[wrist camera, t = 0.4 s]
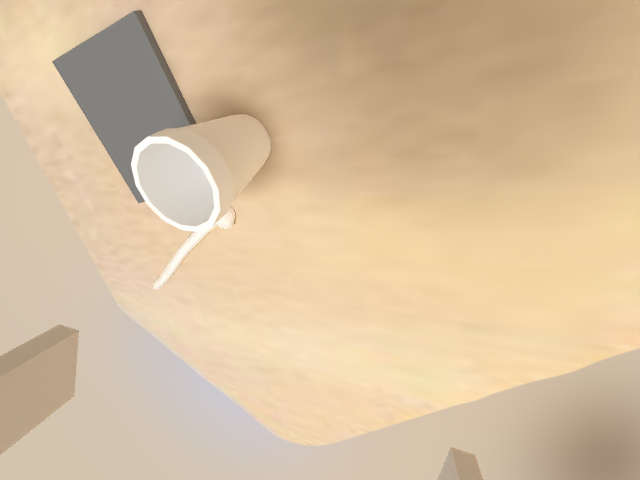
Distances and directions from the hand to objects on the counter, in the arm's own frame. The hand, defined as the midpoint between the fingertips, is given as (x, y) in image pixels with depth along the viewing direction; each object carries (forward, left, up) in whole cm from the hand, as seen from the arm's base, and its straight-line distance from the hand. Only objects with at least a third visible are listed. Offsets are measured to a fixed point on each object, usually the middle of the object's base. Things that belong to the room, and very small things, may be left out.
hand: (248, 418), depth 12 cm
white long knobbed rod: (+11, -37, -32) cm, 50 cm away
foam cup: (-4, -18, -31) cm, 36 cm away
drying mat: (-10, -32, -31) cm, 46 cm away
